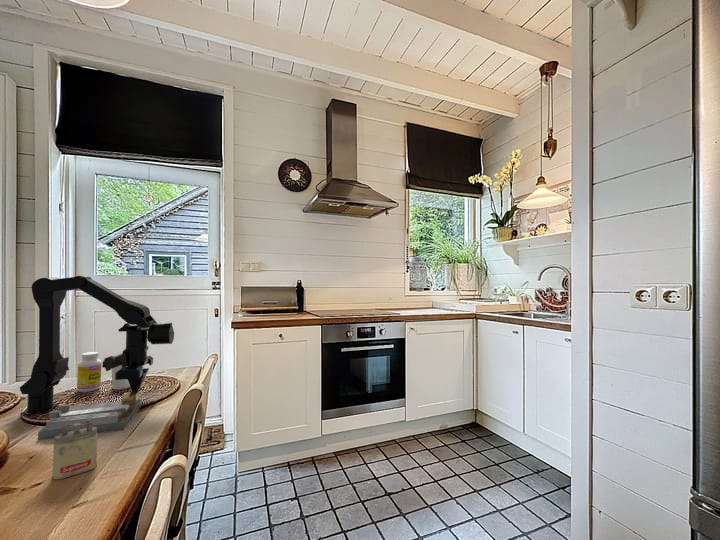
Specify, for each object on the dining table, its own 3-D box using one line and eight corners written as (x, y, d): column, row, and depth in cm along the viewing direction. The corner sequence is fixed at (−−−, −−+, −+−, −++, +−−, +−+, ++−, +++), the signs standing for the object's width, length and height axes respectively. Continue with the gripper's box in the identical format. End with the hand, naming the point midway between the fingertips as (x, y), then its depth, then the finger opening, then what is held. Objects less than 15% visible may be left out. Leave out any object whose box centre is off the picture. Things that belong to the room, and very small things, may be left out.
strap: (54, 420, 89) (54, 416, 89) (60, 416, 92) (60, 412, 92) (125, 411, 95) (125, 407, 95) (129, 407, 98) (129, 403, 98)
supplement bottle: (87, 393, 117) (88, 355, 118) (71, 391, 119) (72, 354, 119) (105, 387, 124) (106, 351, 124) (90, 385, 125) (91, 350, 125)
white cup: (136, 386, 126) (137, 358, 126) (115, 390, 120) (116, 362, 120) (127, 382, 129) (128, 356, 129) (107, 387, 124) (108, 359, 124)
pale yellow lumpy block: (124, 401, 104) (125, 392, 105) (138, 400, 106) (138, 391, 106) (118, 408, 99) (119, 398, 99) (133, 406, 101) (133, 397, 101)
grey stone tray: (71, 412, 101) (71, 395, 101) (141, 405, 107) (142, 389, 107) (37, 440, 84) (38, 419, 84) (123, 430, 90) (124, 410, 90)
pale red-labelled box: (52, 482, 67) (54, 431, 67) (51, 474, 70) (53, 425, 70) (97, 468, 72) (99, 420, 72) (95, 461, 75) (96, 415, 75)
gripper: (116, 340, 115) (114, 387, 115) (94, 352, 97) (93, 407, 97) (154, 339, 119) (152, 384, 118) (140, 350, 101) (138, 403, 101)
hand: (135, 393), depth 109 cm, fingers closed
